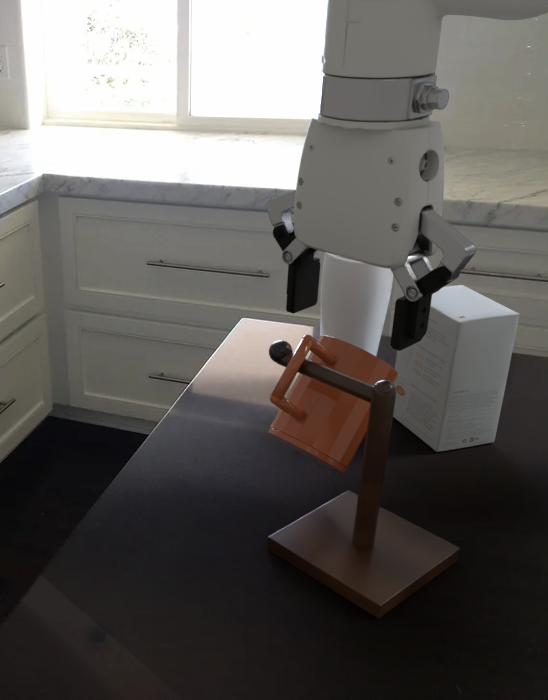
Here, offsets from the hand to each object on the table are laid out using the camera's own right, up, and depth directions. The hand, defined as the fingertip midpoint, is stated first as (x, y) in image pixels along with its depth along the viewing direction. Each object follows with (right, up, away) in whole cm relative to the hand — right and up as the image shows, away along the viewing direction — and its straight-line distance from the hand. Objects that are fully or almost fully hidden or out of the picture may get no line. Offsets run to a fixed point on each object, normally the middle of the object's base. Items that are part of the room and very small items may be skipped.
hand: (351, 325), depth 67 cm
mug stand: (-1, -17, 0) cm, 17 cm away
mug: (-4, -9, +1) cm, 10 cm away
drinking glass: (+7, -6, +24) cm, 25 cm away
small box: (+13, -10, +16) cm, 23 cm away
